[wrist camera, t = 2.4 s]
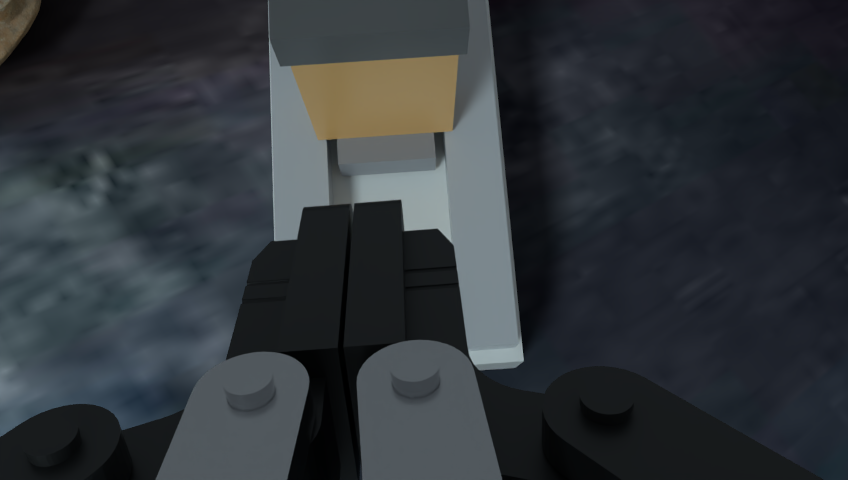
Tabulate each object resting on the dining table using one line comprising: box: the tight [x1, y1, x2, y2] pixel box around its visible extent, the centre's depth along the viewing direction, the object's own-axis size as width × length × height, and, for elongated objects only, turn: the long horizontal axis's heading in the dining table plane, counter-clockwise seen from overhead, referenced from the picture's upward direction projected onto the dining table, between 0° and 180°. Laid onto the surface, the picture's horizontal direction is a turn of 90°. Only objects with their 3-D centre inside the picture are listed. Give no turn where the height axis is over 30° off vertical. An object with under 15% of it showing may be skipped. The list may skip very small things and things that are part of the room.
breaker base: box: [268, 0, 524, 370], centre depth 32 cm, size 20×9×5 cm, turn 4°
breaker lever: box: [269, 0, 470, 176], centre depth 27 cm, size 4×5×10 cm
